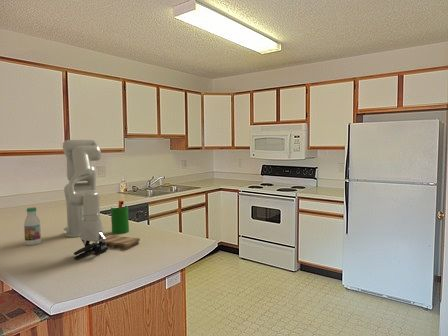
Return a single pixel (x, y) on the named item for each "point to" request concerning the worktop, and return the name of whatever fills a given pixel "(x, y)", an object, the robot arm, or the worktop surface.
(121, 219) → the motor
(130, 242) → the stand
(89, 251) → the can opener
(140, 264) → the worktop surface
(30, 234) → the milk bottle
